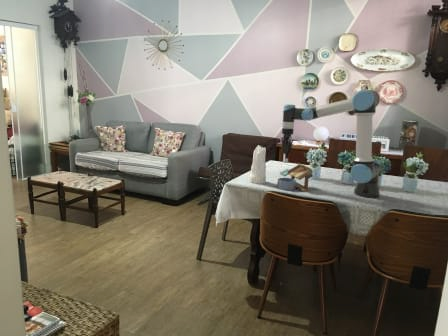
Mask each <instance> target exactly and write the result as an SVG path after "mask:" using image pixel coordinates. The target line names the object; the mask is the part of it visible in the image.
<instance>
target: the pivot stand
mask: <svg viewBox="0 0 448 336" xmlns="http://www.w3.org/2000/svg"><path fill="white" fill-rule="evenodd" d="M290 176H291V175H290ZM290 178H292V179H295V180H296V178H295V177H293V176H291V177H290ZM309 179H310V178H309V176H305V177H304V181H303V182H304V185H303V184H301V183H299V182H297V181H296V188H295V190H298V191H300V192H301V193H305V192H312V191H311V189H310V188H309Z"/></svg>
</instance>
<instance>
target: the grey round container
mask: <svg viewBox="0 0 448 336" xmlns="http://www.w3.org/2000/svg"><path fill="white" fill-rule="evenodd" d="M297 180H298V179H296V178H295V179H292V178H291V177H279V178H278V179H277V185H276V187H277V188H278V190H282V191H294V190H296V182H297Z"/></svg>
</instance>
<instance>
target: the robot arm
mask: <svg viewBox="0 0 448 336" xmlns="http://www.w3.org/2000/svg"><path fill="white" fill-rule="evenodd" d="M380 100H381V97H380V95H379V93H378V92H377V91H376V90H373V89H366V88H365V89H360V90H358V91H356V92H355V93H354V94H353V96H352V98H351V97H350V98H347V99H343V100H340V101H339V100H338V101H335V102H330V103H326V104H323V105H319V106H315V107H309V108H306V107H305V108H301V107H300V108H298V107H296V105H295V104H284V105H283V111H282V112H283V113H282V124H281V125H282V129H281V134H282V135H283V137H281V151H282V153H283V160H282V164H283V163H284V164H288V163H289V154H291V151H292V146H293V142H294V140H293V139H292V135H294V127H295V120H296V121H304V122H305V121H306V122H307V121H309V122H310V121H312V120H313V121H314V120H317V119H319V118H320V119H321V118H323V117H324V118H325V117H329V116H334V115H338V114H342V113H346V112H351V111H352V112H353V114H354V115H355V117H356V131H355V132H356V133H355V134H356V135H355V136H356V137H355V140H356V141H355V142H356V143H355V157H354V158H353V160H352V167H351V170H350V176H351V179H352V180H353V182H355V183H356V185H355V187H354V190H353V194H354V193H355V194H354V195H356V194H357V195H356V196H359V195H360V196H359V197H362V196H365V197H364V198H369V197H373V198H375V197H376V198H379V197H380V193H381V192H380V188H379V187H380V186H379V177H380V170H381V160H380V159H375V158H373V157H372V151H373V150H372V149H373V148H372V147H373V116H374V115H375V114H376V111H377V109H376V108H377V107H378V106H379V103H380V102H381V101H380ZM373 198H372V199H373ZM376 198H375V199H376Z"/></svg>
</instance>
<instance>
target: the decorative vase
mask: <svg viewBox="0 0 448 336" xmlns="http://www.w3.org/2000/svg"><path fill="white" fill-rule="evenodd" d="M266 151H267V149H266V147H263V146H262V145H259V144H258V145H257V146H256V147H255V149H254V150H253V153H252V154H253V157H252V164H251V167H250V174H249V182H250V183H251V182H252V184H256V183H257V184H259V185H264V184H265V183H266V181H267V176H266V170H267V165H266V154H267V152H266Z"/></svg>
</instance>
